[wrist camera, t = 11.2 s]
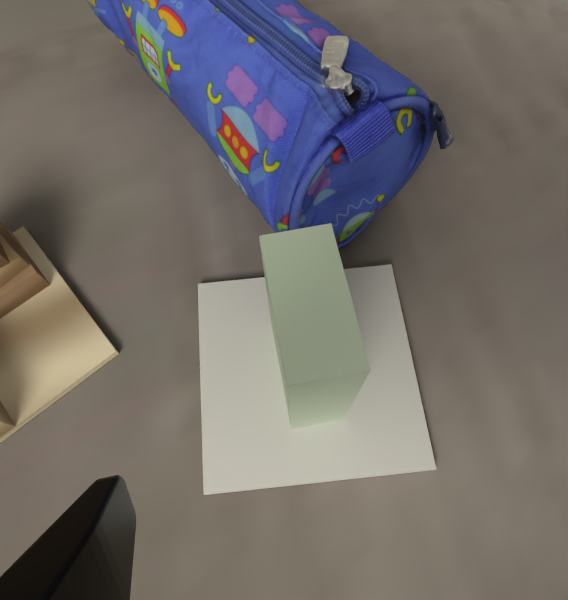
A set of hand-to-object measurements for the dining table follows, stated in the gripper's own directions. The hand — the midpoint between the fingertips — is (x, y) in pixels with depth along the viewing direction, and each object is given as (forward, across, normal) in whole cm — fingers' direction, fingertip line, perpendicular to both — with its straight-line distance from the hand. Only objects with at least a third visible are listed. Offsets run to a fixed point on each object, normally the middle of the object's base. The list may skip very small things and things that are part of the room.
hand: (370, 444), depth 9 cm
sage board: (+12, 0, +5) cm, 13 cm away
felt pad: (+13, 0, +6) cm, 14 cm away
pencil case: (+24, 0, -5) cm, 24 cm away
